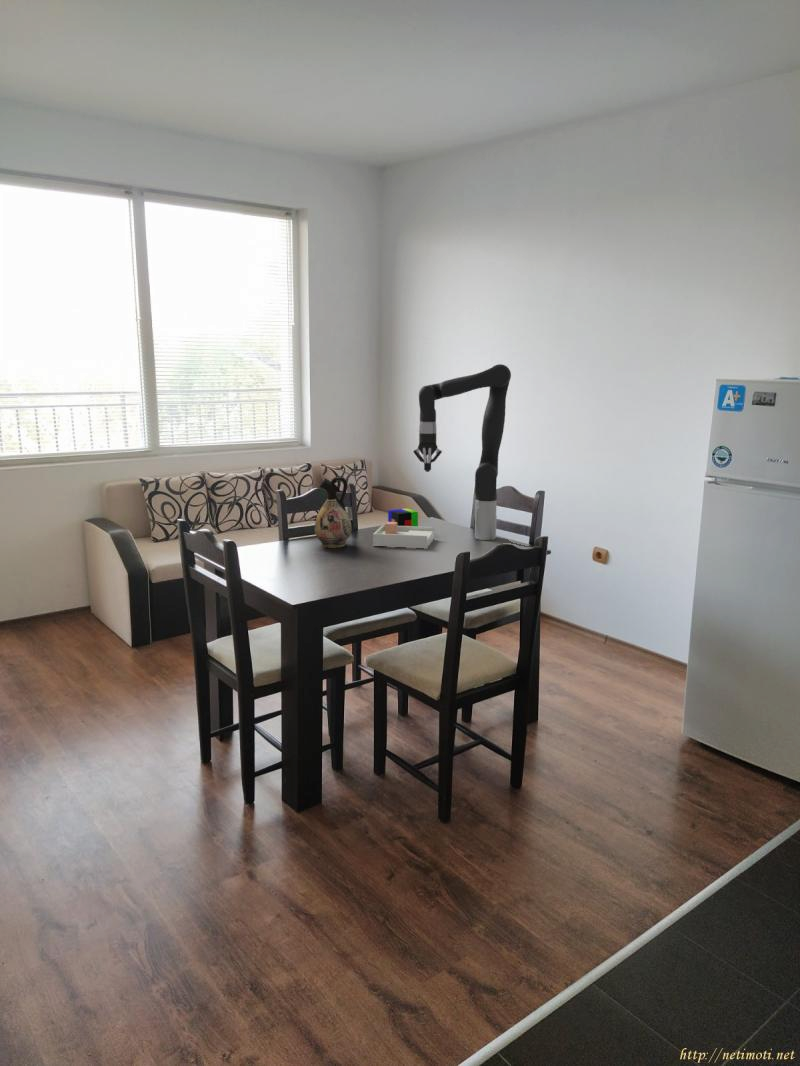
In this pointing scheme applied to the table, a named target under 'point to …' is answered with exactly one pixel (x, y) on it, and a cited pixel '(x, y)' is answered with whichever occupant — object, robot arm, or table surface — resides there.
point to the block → (390, 527)
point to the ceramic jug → (333, 516)
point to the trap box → (404, 537)
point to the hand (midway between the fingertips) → (427, 471)
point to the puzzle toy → (403, 517)
